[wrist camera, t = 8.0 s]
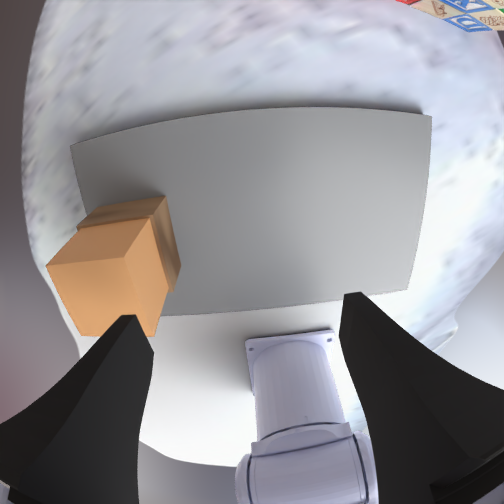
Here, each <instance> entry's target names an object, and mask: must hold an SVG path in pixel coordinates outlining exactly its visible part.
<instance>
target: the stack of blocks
mask: <svg viewBox="0 0 504 504" xmlns="http://www.w3.org/2000/svg"><path fill="white" fill-rule="evenodd" d="M396 1H399V2H402V3H405V4H409V6H411V7H413V8H416V9H418V10H421V11H424V12H426V13H428V14H431V15H433V16H435V17H438V18H440V19H443V20H445V21H447V22H449V23H451V24H453V25H455V26H458V27H459V28H461V29H463V30H465V31H467V32H476V31H489V30H504V0H396Z"/></svg>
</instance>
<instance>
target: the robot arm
mask: <svg viewBox="0 0 504 504" xmlns="http://www.w3.org/2000/svg"><path fill="white" fill-rule="evenodd" d="M339 339H340V343H341V347H342V351H343V355H344V359H345V362H346V365H347V368H348V370H349V373H350V376H351V378H352V381H353V384H354V386H355V389H356V392H357V394H358V397H359V400H360V402H361V405H362V408H363V411H364V414H365V417H366V421H367V425H368V429H369V434H370V437H369V436H368V435H367V434H364V433H362V431H360V430H358V431H355V432H353V434H352V432H351V428H350V424H349V422H346V421H345V417H344V413H343V409H342V406H341V402H340V398H339V395H338V391H337V388H336V384H335V380H334V377H333V373H332V370H331V366H330V362H331V357H332V351H333V346H334V340H335V332H334V331H333V330H324V331H317V332H310V333H302V334H294V335H285V336H276V337H266V338H255V339H248V340H246V342H245V347H246V353H247V360H248V366H249V372H250V379H251V385H252V391H253V396H255V408H256V424H257V440H258V442H252V443H251V449H252V453H250V454H246V455H244V456H243V458H242V460H241V461H240V462H239V464H238V466H237V469H236V474H235V490H236V497H237V501H238V504H504V390H503V389H500V388H498V387H495V386H493V385H491V384H488V383H485V382H484V381H482V380H480V379H478V378H475V377H474V376H472V375H470V374H468V373H466V372H464V371H462V370H461V369H459V368H457V367H455V366H454V365H452V364H451V363H449V362H447V361H446V360H444V359H443V358H441V357H440V356H438V355H437V354H435V353H434V352H432V351H431V350H430V349H428V348H427V347H426V346H424V345H423V344H422V343H420V342H419V341H418V340H416V339H415V338H414V337H413V336H411V335H410V334H409V333H408V332H406V331H405V330H404V329H403V328H402V327H400V326H399V325H398V324H397V323H396V322H395V321H393V320H392V319H391V318H390V317H389V316H388V315H387V314H386V313H384V312H383V311H382V310H381V309H380V308H379V307H378V306H377V305H376V304H374V303H373V302H372V301H371V300H370V299H369V298H368V297H367V296H365V295H364V294H363V293H362V292H361V291H360V292H353V293H347V294H344V299H343V307H342V315H341V323H340V330H339ZM251 347H253V348H251ZM153 357H154V352H153V350H152V348H151V346H150V344H149V341H148V339H147V337H146V335H145V333H144V331H143V329H142V327H141V324H140V322H139V320H138V318H137V316H136V314H132V315H121V316H120V317H119V318H118V319H117V320H116V321H115V322H114V323H113V324H112V325H111V326H110V327H109V328H108V329H107V330H106V332H105V333H104V334H103V335H102V336H101V337H100V338H99V339H98V340H97V342H96V343H95V344H94V345H93V346H92V347H91V348H90V349H89V350H88V352H87V353H86V354H85V355H84V356H83V357H82V358H81V359H80V360H79V361H78V362H77V363H76V364H75V365H74V366H73V367H72V369H71V370H70V371H69V372H68V373H67V374H66V375H65V376H64V377H63V378H62V379H61V380H60V381H58V383H56V384H55V385H54V386H53V387H52V388H51V389H50V390H49V391H47V392H46V393H45V394H44V395H43V396H41V397H40V398H39V399H37V400H36V401H35V402H33V403H32V404H31V405H29V406H28V407H27V408H26V409H24V410H23V411H21V412H20V413H18V414H17V415H15V416H13V417H12V418H10V419H9V420H7V421H5V422H3V423H1V424H0V480H1V481H3V482H4V483H6V484H8V485H9V486H10V489H9V488H7V487H6V486H4V485H3V484H1V483H0V504H139V498H138V480H137V459H138V441H139V433H140V426H141V422H142V417H143V412H144V408H145V403H146V399H147V395H148V390H149V386H150V381H151V376H152V368H153Z"/></svg>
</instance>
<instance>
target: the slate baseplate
mask: <svg viewBox="0 0 504 504" xmlns="http://www.w3.org/2000/svg"><path fill="white" fill-rule="evenodd" d="M431 130H432V116H428V115H422V114H415V113H408V112H399V111H390V110H379V109H366V108H347V107H284V108H265V109H251V110H239V111H230V112H221V113H213V114H205V115H198V116H192V117H185V118H179V119H174V120H168V121H163V122H158V123H153V124H148V125H143V126H139V127H135V128H130V129H126V130H122V131H118V132H114V133H111V134H107V135H103V136H100V137H96V138H93V139H89V140H86V141H83V142H80V143H77V144H74V145H71V146H70V148H71V153H72V158H73V163H74V167H75V171H76V176H77V180H78V184H79V188H80V192H81V195H82V199H83V203H84V206H85V210H86V213H87V216H88V215H89V214H90V213H91V212H92V211H93V210H95V209H96V208H97V207H101V206H106V205H112V204H117V203H123V202H129V201H135V200H141V199H147V198H154V197H161V196H166V198H167V203H168V208H169V213H170V217H171V222H172V227H173V231H174V236H175V240H176V244H177V249H178V253H179V257H180V261H181V268H180V272H179V275H178V278H177V282H176V285H175V289H174V292H169V293H167V295H166V298H165V301H164V305H163V308H162V311H161V315H160V316H175V315H194V314H209V313H223V312H236V311H248V310H259V309H269V308H279V307H288V306H297V305H306V304H314V303H322V302H330V301H337V300H343V299H344V294H347V293H353V292H360V291H361V292H362V293H363V294H364V295H365V296H372V295H378V294H384V293H390V292H396V291H402V290H407V288H408V285H409V281H410V277H411V273H412V269H413V264H414V260H415V256H416V251H417V246H418V241H419V236H420V231H421V225H422V219H423V213H424V207H425V200H426V192H427V184H428V175H429V164H430V150H431Z"/></svg>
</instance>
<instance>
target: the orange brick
mask: <svg viewBox="0 0 504 504" xmlns="http://www.w3.org/2000/svg"><path fill="white" fill-rule="evenodd" d="M46 268H47V270H48V272H49V275H50V277H51V279H52V281H53V283H54V285H55V287H56V290H57V292H58V294H59V296H60V298H61V300H62V302H63V304H64V305H65V307H66V309H67V311H68V313H69V315H70V317H71V319H72V320H73V322H74V324H75V326H76V327H77V329H78V331H79V333H80V334H81V336H102V335H103V334H104V333H105V332H106V330H107V329H108V328H109V327H110V326H111V325H112V324H113V323H114V322H115V321H116V320H117V319H118V318H119V317H120V316H121V315H132V314H136V316H137V318H138V320H139V322H140V324H141V327H142V329H143V331H144V333H145V335H146V337H154V335H155V332H156V328H157V325H158V321H159V318H160V315H161V311H162V308H163V305H164V301H165V298H166V295H167V292H168V288H169V287H168V284H167V281H166V277H165V274H164V270H163V267H162V263H161V260H160V256H159V253H158V249H157V245H156V241H155V237H154V234H153V230H152V226H151V222H150V218H145V219H138V220H131V221H124V222H118V223H111V224H105V225H99V226H93V227H87V228H81V229H80V230H79V231H78V232H77V233H76V234H75V235H74V236H73V237H72V238H71V239H70V240H69V241H68V242H67V243H66V244H65V245H64V246H63V247H62V248H61V249H60V251H59V252H58V253H57V254H56V255H55V256H54V257H53V258H52V259H51V260H50V262H49V263H48V264H47V265H46Z"/></svg>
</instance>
